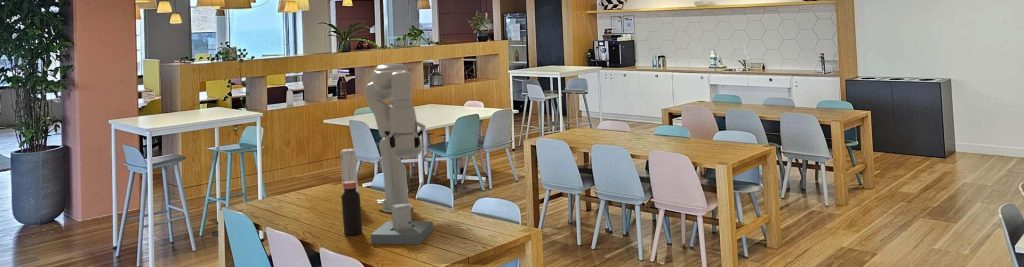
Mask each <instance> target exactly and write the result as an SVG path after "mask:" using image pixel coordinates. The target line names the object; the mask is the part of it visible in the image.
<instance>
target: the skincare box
mask: <svg viewBox="0 0 1024 267" xmlns="http://www.w3.org/2000/svg"><path fill="white" fill-rule="evenodd" d="M409 204H410V203H408V204H406V203H404V204H397V205H392V213H391V216H392V217H391V221H392V222H393V231H409V230H410V229H411V228H412V209H411V205H412V204H411V205H409Z"/></svg>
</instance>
